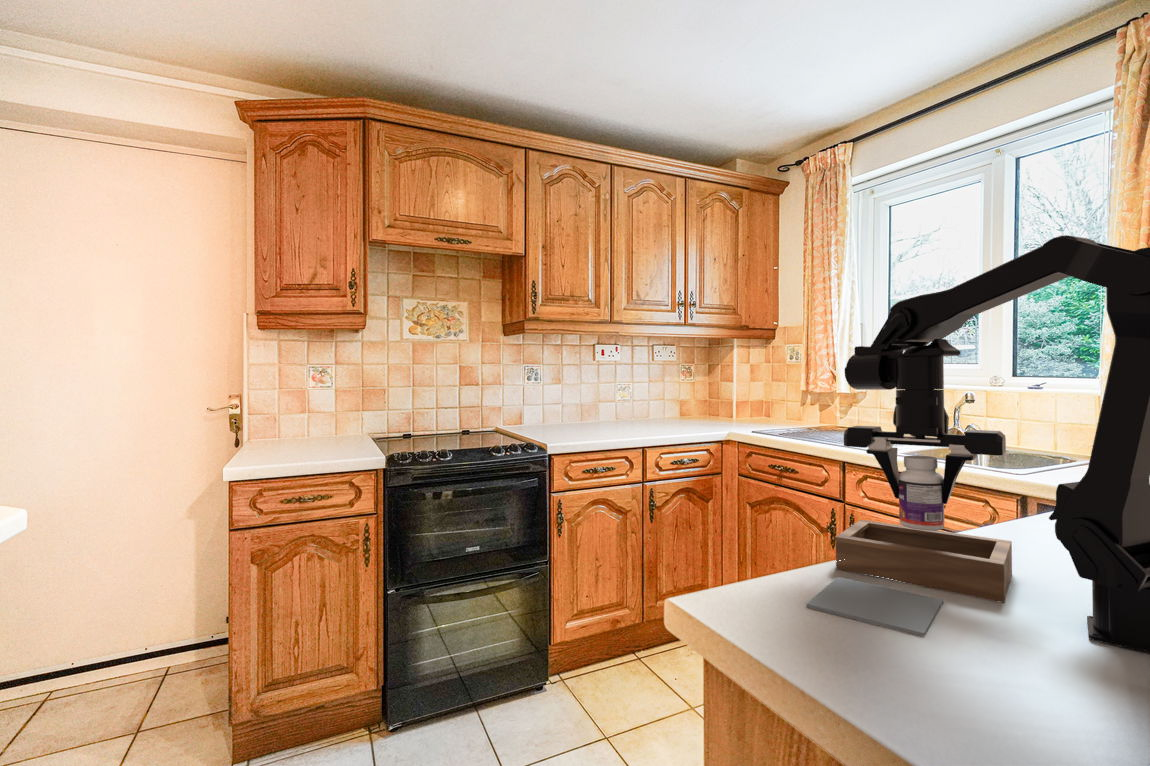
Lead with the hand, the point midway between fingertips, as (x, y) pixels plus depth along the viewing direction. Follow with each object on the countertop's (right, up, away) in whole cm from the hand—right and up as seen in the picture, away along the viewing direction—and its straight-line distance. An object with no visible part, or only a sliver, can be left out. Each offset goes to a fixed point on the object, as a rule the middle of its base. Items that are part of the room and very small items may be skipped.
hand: (921, 500), depth 77 cm
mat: (-13, -10, -11) cm, 20 cm away
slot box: (0, -10, 0) cm, 10 cm away
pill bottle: (0, -4, 0) cm, 4 cm away
